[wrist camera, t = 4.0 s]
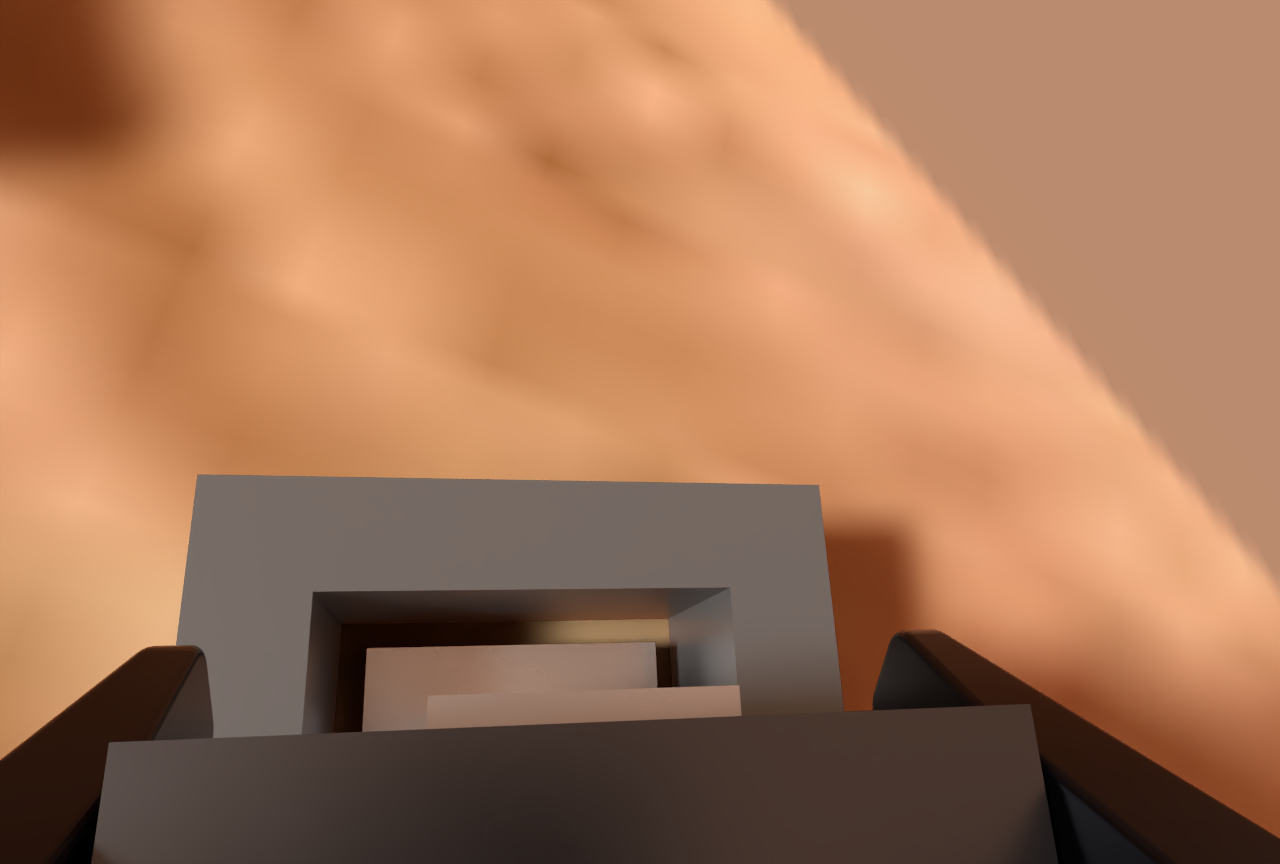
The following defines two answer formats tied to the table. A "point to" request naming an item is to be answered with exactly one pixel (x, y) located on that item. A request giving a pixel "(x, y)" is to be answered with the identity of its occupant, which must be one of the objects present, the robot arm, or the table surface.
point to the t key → (583, 776)
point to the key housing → (502, 580)
